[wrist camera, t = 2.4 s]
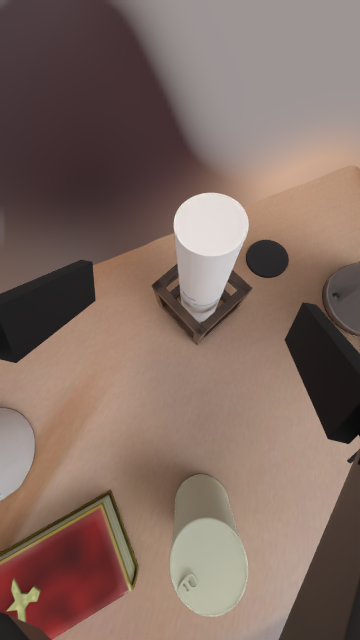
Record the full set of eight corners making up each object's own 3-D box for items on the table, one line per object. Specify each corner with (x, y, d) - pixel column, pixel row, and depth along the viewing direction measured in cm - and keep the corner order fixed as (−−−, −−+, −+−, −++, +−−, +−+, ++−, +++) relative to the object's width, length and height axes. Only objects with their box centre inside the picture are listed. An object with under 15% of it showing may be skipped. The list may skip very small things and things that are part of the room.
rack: (238, 307, 44) (252, 288, 34) (197, 345, 42) (200, 336, 32) (199, 270, 46) (202, 242, 37) (159, 304, 45) (151, 285, 35)
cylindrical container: (193, 284, 46) (198, 182, 21) (221, 300, 44) (262, 212, 20) (175, 311, 44) (159, 234, 20) (204, 328, 43) (225, 269, 19)
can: (164, 497, 36) (152, 556, 24) (206, 461, 37) (215, 501, 25) (196, 552, 34) (201, 646, 22) (240, 513, 35) (267, 582, 23)
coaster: (296, 259, 46) (297, 258, 46) (268, 285, 45) (269, 284, 44) (265, 234, 48) (265, 232, 47) (237, 258, 47) (238, 257, 46)
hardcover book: (139, 568, 34) (132, 595, 29) (14, 645, 32) (-12, 685, 28) (110, 490, 36) (101, 504, 32) (-6, 556, 35) (-32, 580, 31)
